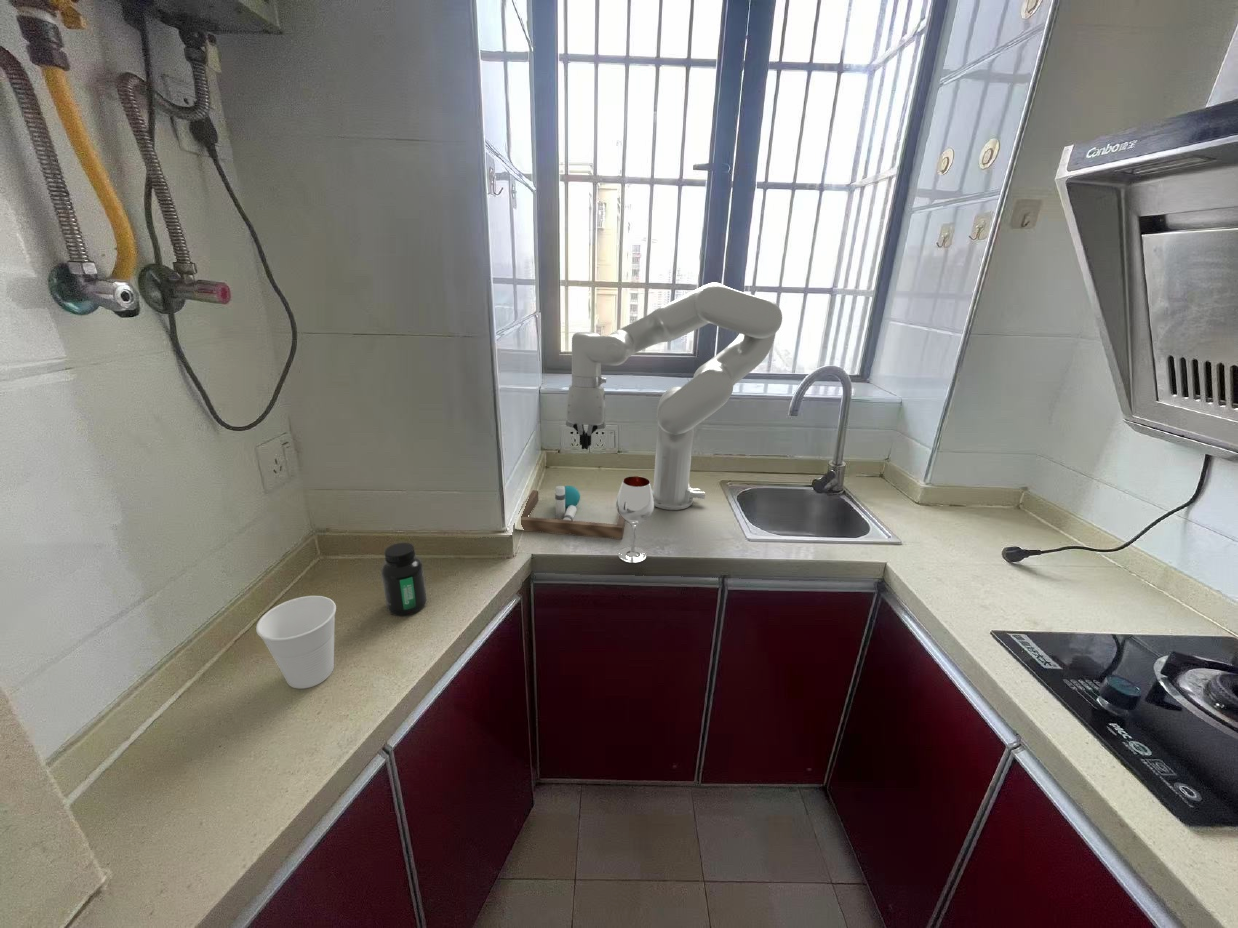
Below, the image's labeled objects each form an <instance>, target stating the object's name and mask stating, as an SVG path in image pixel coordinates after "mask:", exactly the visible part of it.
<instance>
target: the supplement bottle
mask: <svg viewBox="0 0 1238 928" xmlns="http://www.w3.org/2000/svg"><path fill="white" fill-rule="evenodd" d="M384 556H385V557H384V560H385V562H384V564H383V565H382V567H381V571H380V572H381V579H382V584H383V591H384V592H383V593H384V597H385V604H386V609H387V611H388V612H389V613H390V614H392V615H393V616H395V617H407V616H411V615H414V614H417V613H418V612H420V611H421V610H422V609H423V608H424V607H425V606H426V604H427V590H426V581H425V574H424V573H425V572H424V566H423V563H422V560H421V559H420V558H419V557H418V556H416V551H415V546H414V545H413V544H412V543H409V542H397V543H394V544H391V545H389V546H388V547H387V548H385V550H384Z"/></svg>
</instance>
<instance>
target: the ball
mask: <svg viewBox="0 0 1238 928" xmlns="http://www.w3.org/2000/svg"><path fill="white" fill-rule="evenodd" d="M563 486H564V485H563ZM564 487H565V509H567V508H568V506H570V505H573V506H575V507H577V505H578V504H579V502H580V500H581V494H580V492H579V490H578V489H577V488H576V487H575V486H572V485H565V486H564Z"/></svg>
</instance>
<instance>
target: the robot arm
mask: <svg viewBox="0 0 1238 928" xmlns="http://www.w3.org/2000/svg"><path fill="white" fill-rule="evenodd" d="M782 322H783V314H782V310H781V308H780V307H779V305H778V304H777V303H776V302H774V301H772V300H770V299H769V298H765V297H759V296H756V295H753V294H751V293H746V292H743V291H740V290H737V289H735V288H734V289H733V288H731V287H728V286H726V285H724V284H722V283H719V282H710V283H707V284H703V285H702V286H701V287H699V288H696V289H694V290H692V291H691V292H689V293H686V294H683V295H682V296H680V297H679V298H676V299H675V300H673V301H670V302H668V303H666V304H665V305H662V306H660V307H658V308H656V309H655V310H653V311H652V312H651V313H648V314H647V315H645V316H643V317H641V318H640V319H637V320H636V321H633V322H632V323H629V324H627V325H626V326H623V327H621V328H619V329H617V330H615V331H614V332H611V333H610V334H608V335H600V334H599V333H597V332H592V331H580V332H579V331H578V332H575V333H573V335H572V336H571V384H570V385H569V386H568V392H567V400H566V411H565V413H566V414H565V417H566V418H565V419H566V422H565V426H566V427H569V428H573V429H574V430H575V431H576V432H577V433H578V436H579V446H581V450H589V447H591V446H592V434H594V433H595V432H596V431H597V430H603V429H605V428H606V393H605V388H604V386H603V385H604V384H607V377H603V376H602V364H603V365H607V366H612V367H613V366H614V367H615V366H620V365H623V364H624V363H625V362H626V361H627V360H628V359H629V357H631V356H633V355H635V354H637V353H639V352H641V351H643V350H645V349H648V348H650V347H652V346H654V345H656V344H661V343H666V342H667V343H669V342H672V341H675V340H678V339H679V338H681V337H684V336H685V335H688V334H689V333H692V332H695V331H696V330H698V329H700V328H703V327H705V326H707V325H709V324H712V325H713V326H717V327H718V328H722V329H725V330H727V331H731V332H734V333H738V335H737V336H736V338H735V339H734V340H733V341H732V342H730V343H729V344H728V345H727V346H726V347H725V348H724V349H723V350H721V351H720V352H718V353H716V355H714V356H713V357H712V358H711V359H709V360H708V361H706V362H705V363H703V364H701V365H700V366H699V367H698V368H697V370H695V372H694V374H693V377H692V378H691V379H690V380H688V382H687V383H685V384H684V385H683V386H673V387H670V388H668V389H666V391H665V392H663V394H662V395H661V397H660V399H659V401H658V404H657V409H656V422H657V429H656V430H657V432H656V443H655V444H656V446H655V456H654V457H655V460H654V471H653V472H654V474H653V475H654V476H653V487H652V493H653V498H654V507H656V508H658V509H663V510H668V511H669V510H670V511H678V510H684V509H687V508H689V507H691V505H692V504H693V502H694V499H698V500H699V499H700V500H701V499H702V500H703V499H704V500H705V499H706V498H705V497H706V492H705V491H701V488H692V487H691V486H690V474H691V463H692V462H691V461H692V451H693V443H694V434H695V433H694V431H695V427H696V426H697V425H699V424H700V423H702V422H703V421H704V420H706V419H707V418H709V417H710V416H712V415H713V414H714V413H715V412H717V411H718V410H720V409H721V408H722V407H723V406H724V405H725V404H726V403H727V402H728V401H729V399H730V398H731V396H732V394H733V391H734V386H735V385H736V384H737V383H738V382H740V381H741V380H742V379H744V378H745V377H746V376H747V375H749V374H750V373H751V372H752V371H754V369H756V368H757V367H758V366H759V365H760V364H761V363H762V362H763V361H764V360H765V358H766V357H767V356H768V354H769V352H770V351H771V349H772V347H773V344H774V341H775V337H776V333H777V332H778V331H779V329H780V328H781V327H782V326H781V325H782ZM602 384H603V385H602ZM585 425H587V431H586V430H585Z"/></svg>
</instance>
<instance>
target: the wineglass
mask: <svg viewBox="0 0 1238 928" xmlns="http://www.w3.org/2000/svg"><path fill="white" fill-rule="evenodd" d="M652 490H653V488H652V485H651V481H650V479H648V478H647V477H644V476H639V475H630V476H627V477H625V478H623V479H622V482H621V485H620V488H619V491H618V494H617V497H616V501H615V508H616V511H617V513H618V516H619V515H620V516H621V517H622V518H623V519H624V520H625V521H626V522H627V523H628V524H629V525H630V526H631V542H630V543H631V545H630V546H627V547H623V548H621V549H620V550H618V553H620V554H618V553H617V556H618V558H619V559H620V560H622V561H623V562H624V563H629V564H639V563H641V562H644V561H645V560H646V559H647V556H646V555H647V552H646V551H645V550H643V549H642V548H639V547H636V532H637V529H636V528H637V527H638V526H639V525H640V524H642V523H643V522H645V521H647V519H649V518H650V517H651V516H652V514H653V513H654V509H655V506H654V498H653V493H652ZM640 553H641V554H642V553H645V554H643V555H644V556H643V555H641V554H640ZM621 554H622V555H621Z"/></svg>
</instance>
